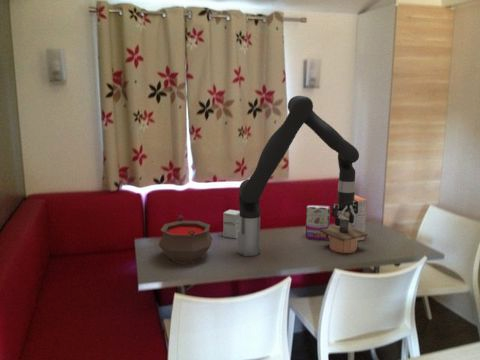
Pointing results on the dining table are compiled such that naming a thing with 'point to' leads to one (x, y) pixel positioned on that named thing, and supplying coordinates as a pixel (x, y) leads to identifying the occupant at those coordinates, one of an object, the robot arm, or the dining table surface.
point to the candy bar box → (317, 221)
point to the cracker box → (358, 216)
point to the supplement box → (231, 223)
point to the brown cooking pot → (185, 240)
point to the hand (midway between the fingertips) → (344, 224)
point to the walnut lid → (343, 231)
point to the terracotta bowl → (343, 245)
